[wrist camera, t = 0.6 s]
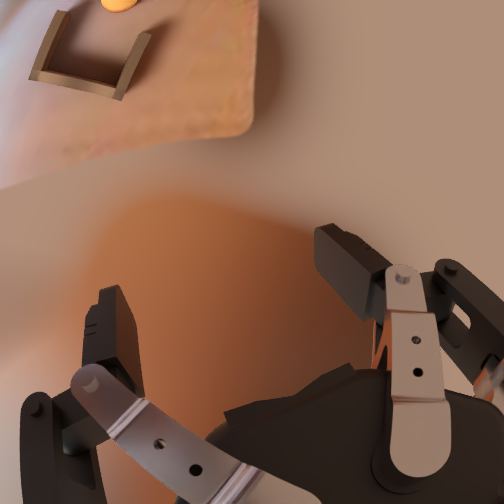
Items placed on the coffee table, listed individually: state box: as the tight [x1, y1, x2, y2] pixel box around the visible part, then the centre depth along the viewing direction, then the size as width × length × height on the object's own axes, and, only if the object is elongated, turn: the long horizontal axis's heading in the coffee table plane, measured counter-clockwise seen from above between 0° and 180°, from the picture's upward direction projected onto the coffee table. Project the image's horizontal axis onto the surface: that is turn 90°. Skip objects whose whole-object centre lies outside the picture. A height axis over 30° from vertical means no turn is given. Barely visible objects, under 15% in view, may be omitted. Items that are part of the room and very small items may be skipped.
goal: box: [28, 10, 152, 101], centre depth 21 cm, size 10×7×4 cm
